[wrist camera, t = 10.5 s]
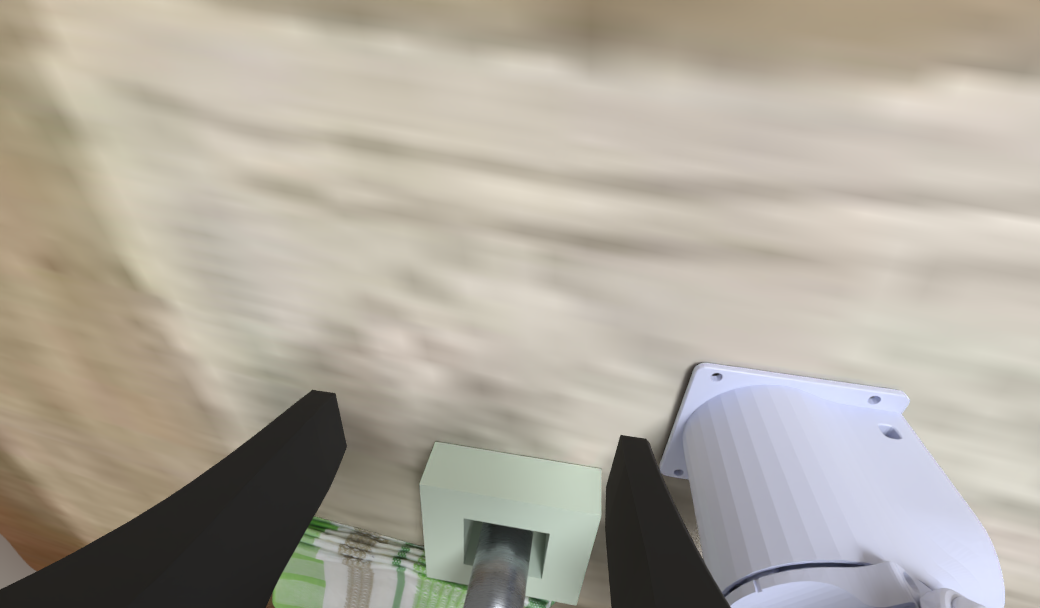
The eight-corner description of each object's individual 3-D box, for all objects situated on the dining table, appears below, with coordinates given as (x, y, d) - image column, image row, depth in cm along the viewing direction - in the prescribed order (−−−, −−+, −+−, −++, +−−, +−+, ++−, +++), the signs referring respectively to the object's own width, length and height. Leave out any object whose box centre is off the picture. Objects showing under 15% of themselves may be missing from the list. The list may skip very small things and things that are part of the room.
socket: (601, 468, 27) (601, 515, 25) (578, 559, 33) (576, 605, 30) (435, 441, 28) (419, 484, 26) (440, 534, 34) (427, 577, 31)
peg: (529, 485, 29) (504, 652, 22) (541, 517, 31) (523, 682, 23) (481, 488, 30) (441, 649, 22) (496, 518, 32) (463, 678, 24)
